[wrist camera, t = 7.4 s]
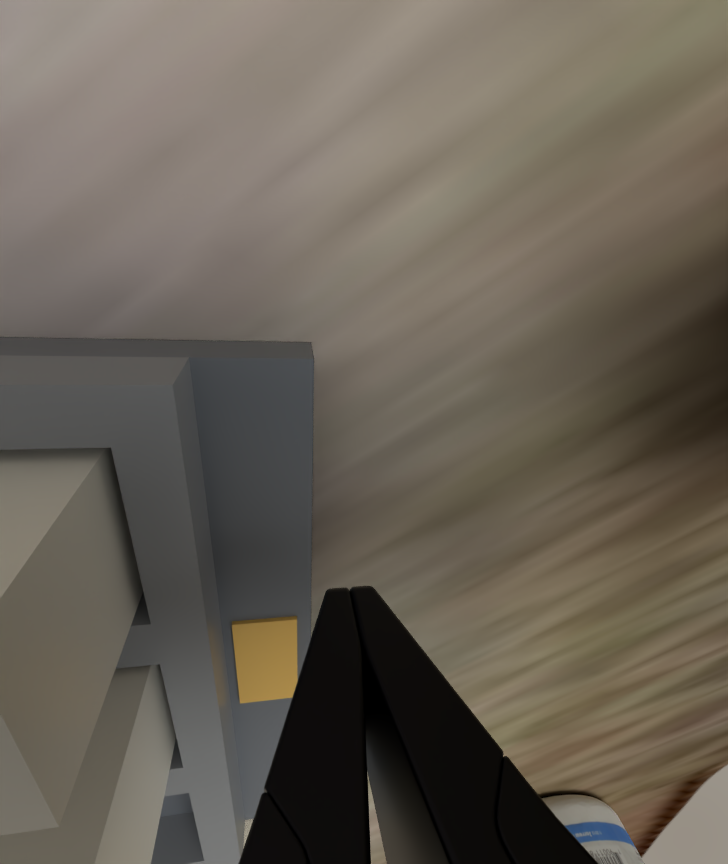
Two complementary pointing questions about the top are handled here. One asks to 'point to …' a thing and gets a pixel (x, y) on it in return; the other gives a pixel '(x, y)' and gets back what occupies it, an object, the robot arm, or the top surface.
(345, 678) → the robot arm
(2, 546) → the beige grey rectangular block
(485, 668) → the top surface
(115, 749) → the light grey block
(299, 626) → the grey compartment tray
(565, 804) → the supplement tub
